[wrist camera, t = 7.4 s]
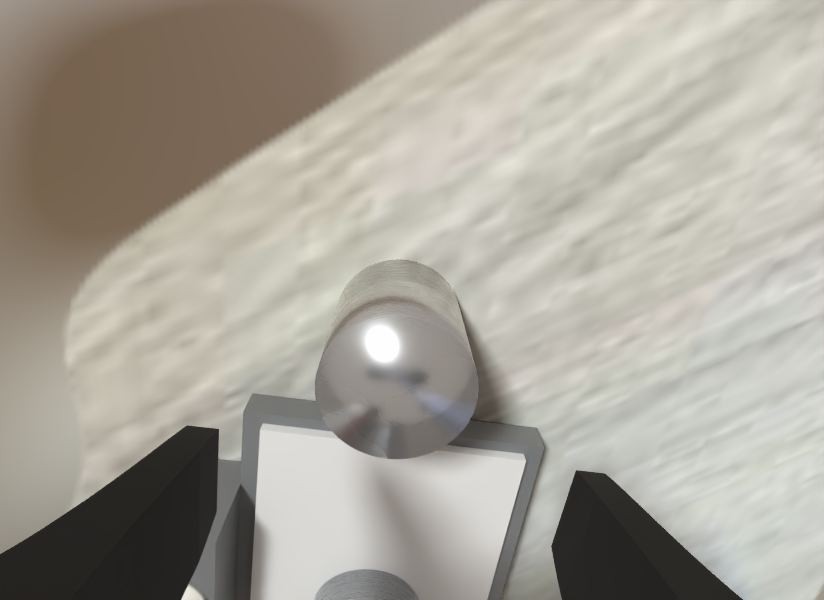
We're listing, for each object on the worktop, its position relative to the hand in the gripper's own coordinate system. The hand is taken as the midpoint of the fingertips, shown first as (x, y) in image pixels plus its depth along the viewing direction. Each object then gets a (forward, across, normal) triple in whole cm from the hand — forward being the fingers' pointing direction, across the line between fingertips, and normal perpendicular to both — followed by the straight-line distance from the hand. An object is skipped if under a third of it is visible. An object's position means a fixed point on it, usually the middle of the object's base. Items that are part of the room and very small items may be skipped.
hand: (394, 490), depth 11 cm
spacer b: (+9, 0, 0) cm, 9 cm away
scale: (+9, +1, +10) cm, 13 cm away
